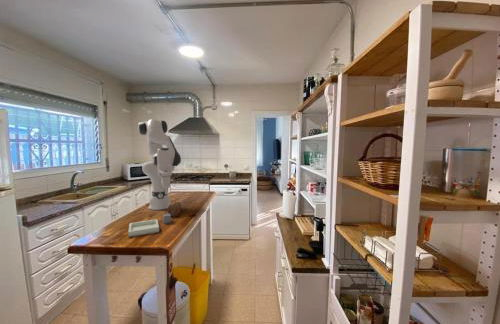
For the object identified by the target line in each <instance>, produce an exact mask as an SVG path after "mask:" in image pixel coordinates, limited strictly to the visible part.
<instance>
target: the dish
mask: <svg viewBox="0 0 500 324" xmlns="http://www.w3.org/2000/svg"><path fill="white" fill-rule="evenodd" d="M127 232H128V235H127V236H128V238H133V237H137V236H144V235H150V234H155V233H160V224H159V221H158V218H156V219H149V220H142V221H136V222H130V223H129V225H128V231H127Z"/></svg>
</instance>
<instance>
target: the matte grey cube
mask: <svg viewBox="0 0 500 324" xmlns="http://www.w3.org/2000/svg"><path fill="white" fill-rule="evenodd" d="M162 223H163V225H165V224H166V225H167V224H171V223H172V216H171V215H170V214H168V213H166V214H163V215H162Z"/></svg>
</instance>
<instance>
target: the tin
mask: <svg viewBox="0 0 500 324" xmlns="http://www.w3.org/2000/svg"><path fill="white" fill-rule="evenodd" d="M170 204H171V205H169V207H168V208H167V214H170V215H171V217H174V216H176V215H178V214H180V212H181V210H182V205H181V203H180V202H179V201H174V202H173V203H170Z"/></svg>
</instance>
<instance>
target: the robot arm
mask: <svg viewBox="0 0 500 324" xmlns="http://www.w3.org/2000/svg"><path fill="white" fill-rule="evenodd" d="M168 129H169V126H168V123H167V122H166V121H165V120H161V119H160V120H158V119H155V118H152V119H149V120H147V121H141V122H138V125H137V131H138V132H139V134H140V135H142V136H146V135H147V148H148V155H149V156H151V157H152V160H150V161H147V162H144V163H143V164H142V167H141V168H142V169H141V170H142V173H143V174H144V175H146V176H147V177H148V178H149V180H151V181H150V182H151V186H152V187H151V188H152V191H151V198H150V199H149V205H148V207H147V209H148V210H153V211H154V210H155V211H156V210H157V211H159V210H165V209H168V207H169V205H171V204H172V203H171V197H170V195H169V189H170V188H171V176H172V175H173V172H174V170H175V167H178V166H179V165H180V164H181V162H182V157H181V155H180V153H179V152H178V150H177V148H176V146H175V145H174V142H173V140H172V138H171V137H170V136H168V135H167V134H166V133H167V132H168ZM164 146H165V147H164Z"/></svg>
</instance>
